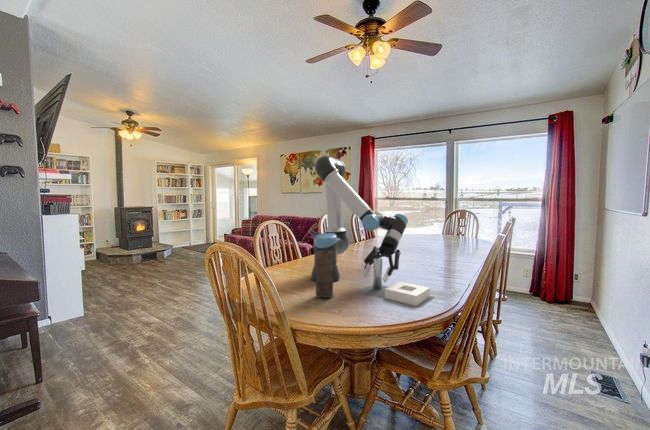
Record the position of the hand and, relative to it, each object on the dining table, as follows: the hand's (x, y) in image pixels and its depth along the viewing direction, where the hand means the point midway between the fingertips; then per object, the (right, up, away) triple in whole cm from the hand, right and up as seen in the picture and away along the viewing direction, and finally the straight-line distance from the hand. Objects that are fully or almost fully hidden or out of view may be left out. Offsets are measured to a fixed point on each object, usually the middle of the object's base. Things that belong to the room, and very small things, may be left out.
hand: (374, 278), depth 138 cm
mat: (+8, -6, -5) cm, 12 cm away
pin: (+2, -5, +3) cm, 6 cm away
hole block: (+13, -6, -9) cm, 17 cm away
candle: (-23, -7, -8) cm, 25 cm away
